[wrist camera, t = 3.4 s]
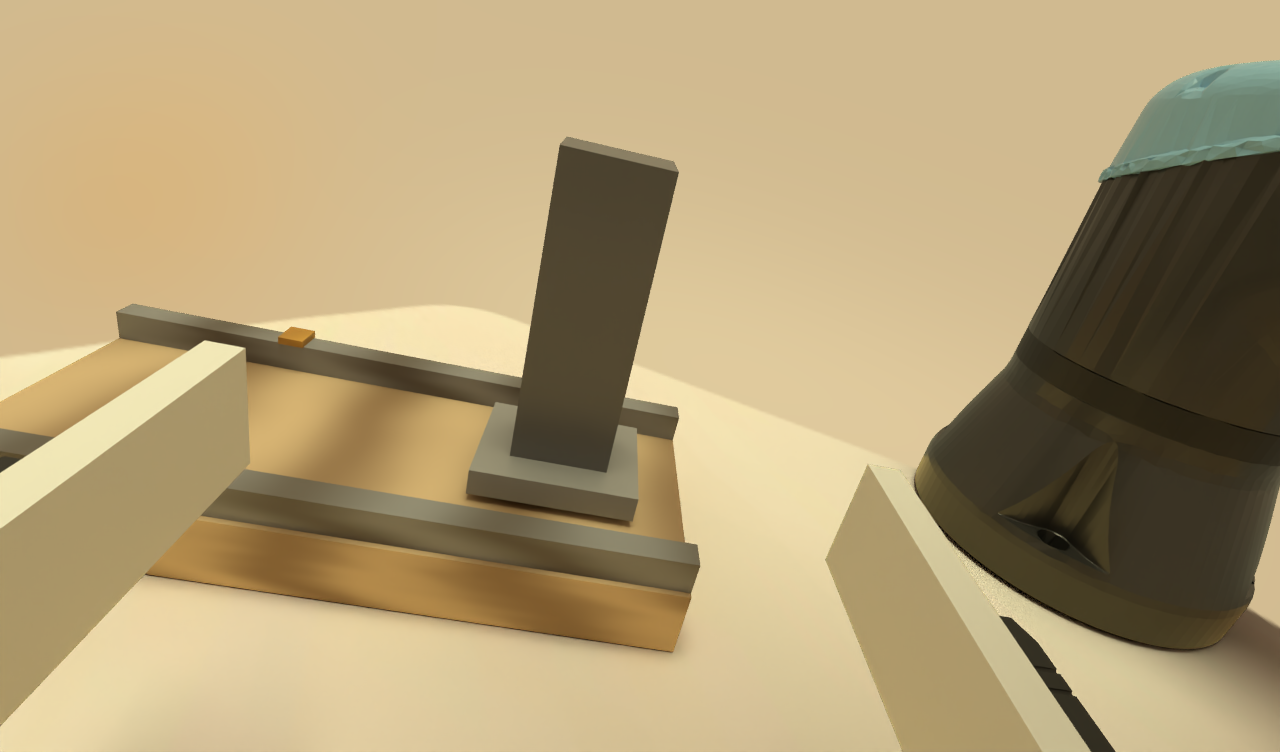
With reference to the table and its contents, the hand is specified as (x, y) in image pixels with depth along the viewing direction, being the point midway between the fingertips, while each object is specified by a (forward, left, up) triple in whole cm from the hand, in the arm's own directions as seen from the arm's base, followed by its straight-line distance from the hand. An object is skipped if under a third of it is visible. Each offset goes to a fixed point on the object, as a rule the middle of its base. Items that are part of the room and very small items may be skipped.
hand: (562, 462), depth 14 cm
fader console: (+7, -10, -9) cm, 15 cm away
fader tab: (0, -10, -7) cm, 12 cm away
